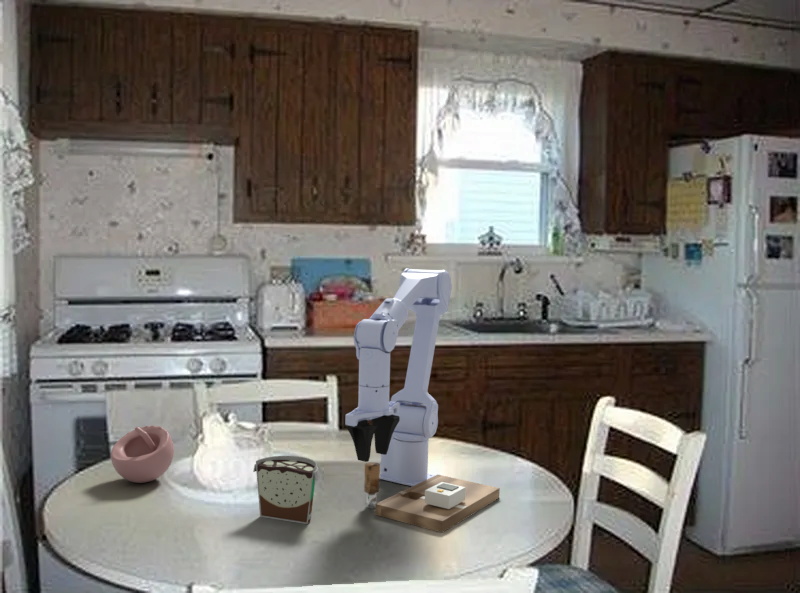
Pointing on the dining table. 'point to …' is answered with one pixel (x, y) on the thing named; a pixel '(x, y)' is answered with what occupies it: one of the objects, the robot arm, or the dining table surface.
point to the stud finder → (445, 495)
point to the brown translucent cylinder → (371, 482)
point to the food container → (286, 487)
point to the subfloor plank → (417, 512)
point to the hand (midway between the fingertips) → (372, 457)
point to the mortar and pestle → (143, 454)
